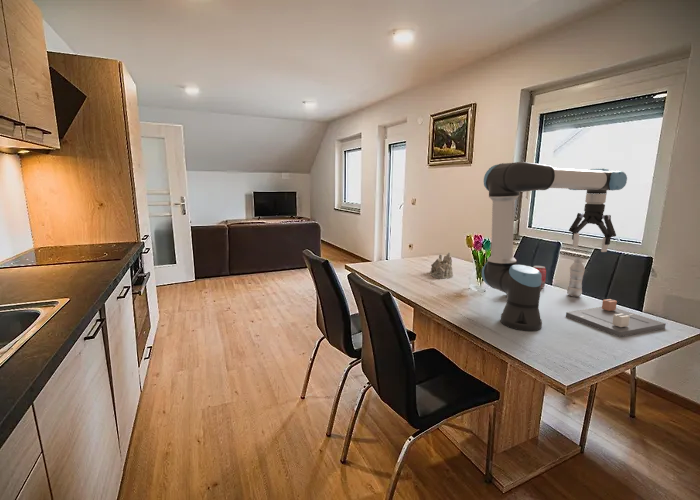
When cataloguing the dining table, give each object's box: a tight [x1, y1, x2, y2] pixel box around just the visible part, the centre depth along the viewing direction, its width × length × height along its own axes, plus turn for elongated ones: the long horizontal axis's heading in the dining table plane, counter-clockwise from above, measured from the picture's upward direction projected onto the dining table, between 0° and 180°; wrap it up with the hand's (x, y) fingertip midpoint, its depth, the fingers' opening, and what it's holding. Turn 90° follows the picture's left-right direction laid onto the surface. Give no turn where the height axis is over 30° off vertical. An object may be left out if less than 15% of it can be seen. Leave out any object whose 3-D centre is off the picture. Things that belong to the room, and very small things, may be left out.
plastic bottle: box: [566, 256, 586, 298], centre depth 175 cm, size 6×7×20 cm
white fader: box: [612, 313, 630, 327], centre depth 133 cm, size 4×3×4 cm
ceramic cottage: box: [429, 252, 454, 280], centre depth 217 cm, size 16×16×15 cm
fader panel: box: [565, 306, 666, 338], centre depth 142 cm, size 26×22×2 cm
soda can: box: [533, 265, 547, 290], centre depth 191 cm, size 7×7×12 cm
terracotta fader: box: [601, 298, 618, 311], centre depth 150 cm, size 4×3×4 cm
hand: (588, 249), depth 160 cm, fingers open, 13 cm apart
